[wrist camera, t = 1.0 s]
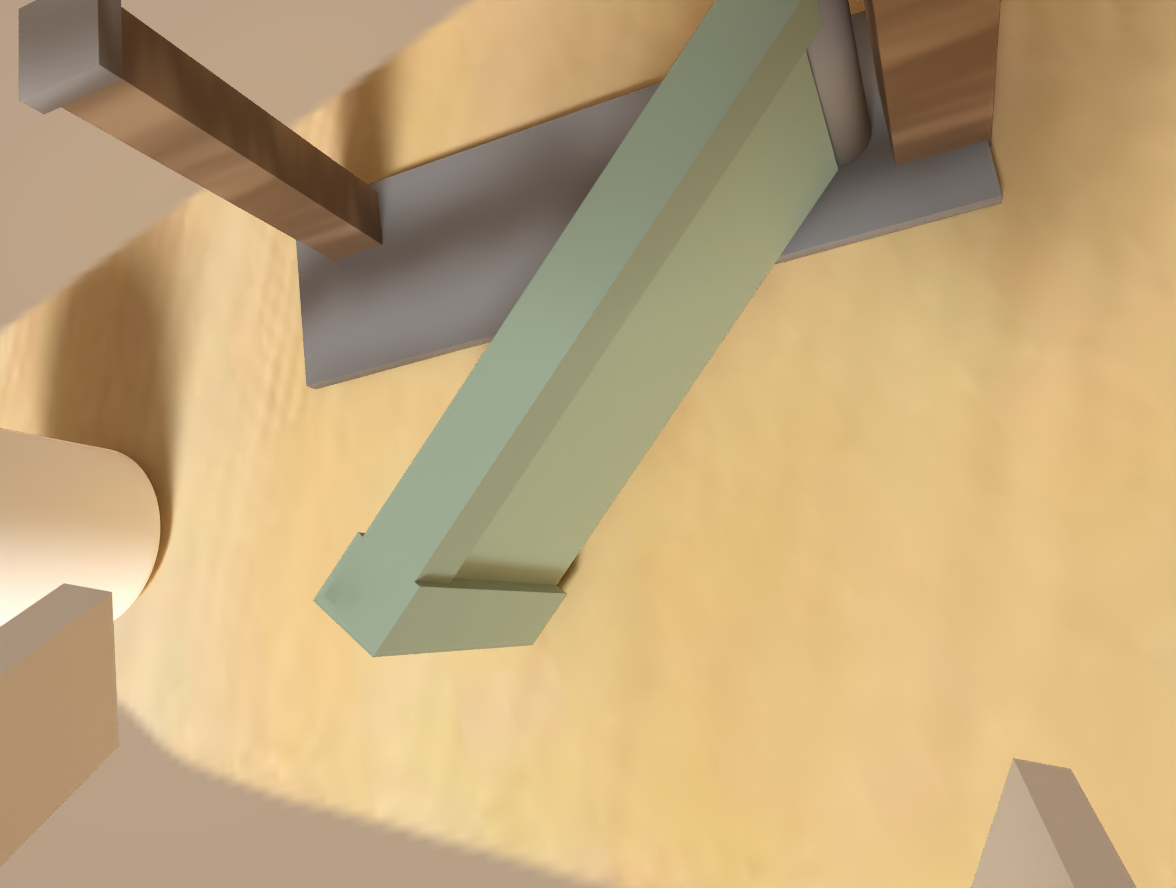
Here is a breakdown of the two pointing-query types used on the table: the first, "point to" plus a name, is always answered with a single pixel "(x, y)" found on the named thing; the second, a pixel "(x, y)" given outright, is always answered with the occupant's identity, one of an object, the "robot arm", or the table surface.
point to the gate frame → (495, 171)
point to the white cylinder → (72, 521)
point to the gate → (609, 333)
